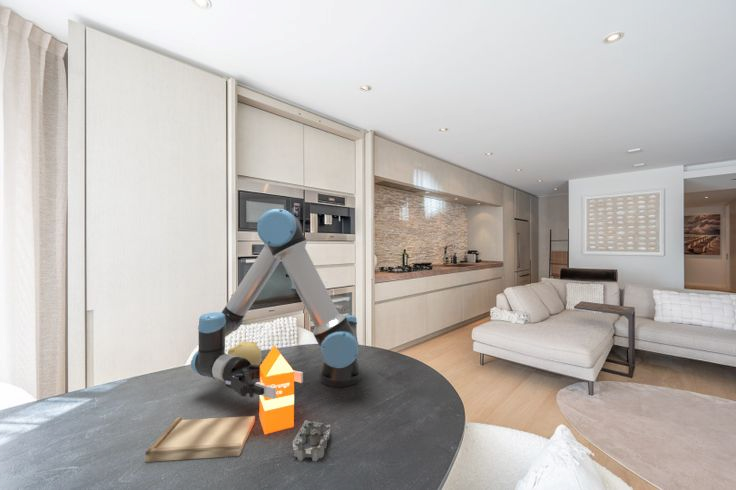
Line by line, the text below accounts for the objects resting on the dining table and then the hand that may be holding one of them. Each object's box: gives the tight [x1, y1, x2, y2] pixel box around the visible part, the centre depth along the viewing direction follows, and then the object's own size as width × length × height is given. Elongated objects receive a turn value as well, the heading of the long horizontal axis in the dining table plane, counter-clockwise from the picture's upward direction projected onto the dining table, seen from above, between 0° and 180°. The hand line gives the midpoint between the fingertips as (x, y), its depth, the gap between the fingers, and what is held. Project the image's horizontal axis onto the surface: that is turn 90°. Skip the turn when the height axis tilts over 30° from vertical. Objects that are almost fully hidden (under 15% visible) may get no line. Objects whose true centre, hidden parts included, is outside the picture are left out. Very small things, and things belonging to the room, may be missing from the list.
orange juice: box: [258, 344, 295, 435], centre depth 84 cm, size 8×9×20 cm
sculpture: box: [227, 341, 263, 365], centre depth 120 cm, size 12×12×11 cm
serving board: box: [145, 415, 256, 463], centre depth 76 cm, size 20×14×2 cm
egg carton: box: [292, 419, 331, 462], centre depth 74 cm, size 11×8×4 cm
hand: (289, 385), depth 82 cm, fingers closed on orange juice, 10 cm apart
